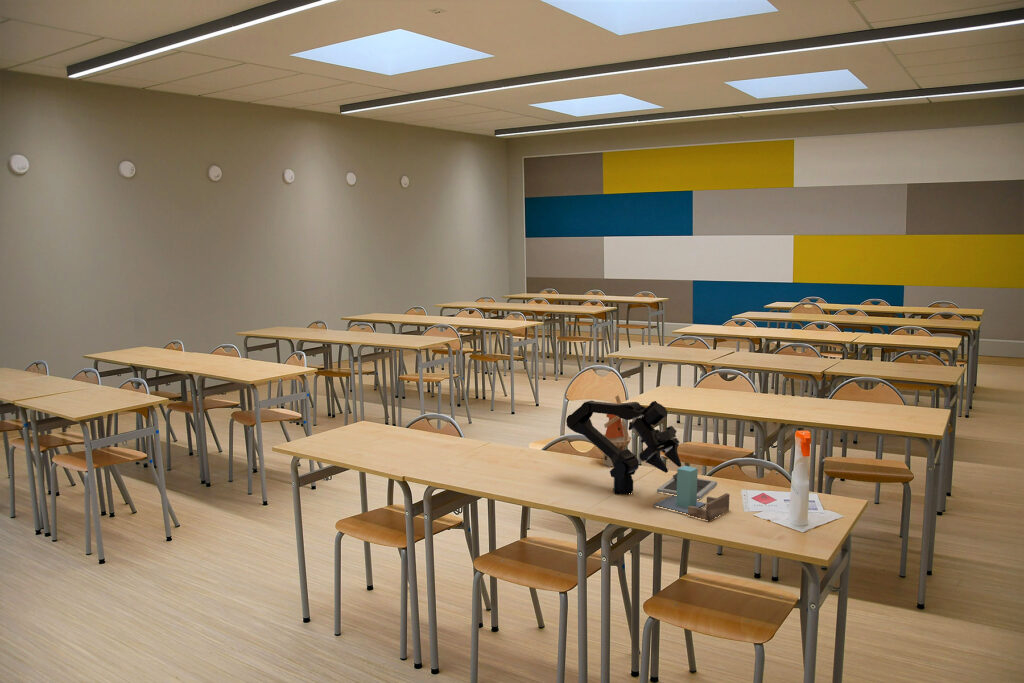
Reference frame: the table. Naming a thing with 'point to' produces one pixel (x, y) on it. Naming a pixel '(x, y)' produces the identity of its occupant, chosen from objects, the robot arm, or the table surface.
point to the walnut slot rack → (711, 508)
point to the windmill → (615, 434)
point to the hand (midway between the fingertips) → (673, 469)
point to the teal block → (686, 486)
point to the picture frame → (702, 486)
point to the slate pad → (671, 504)
